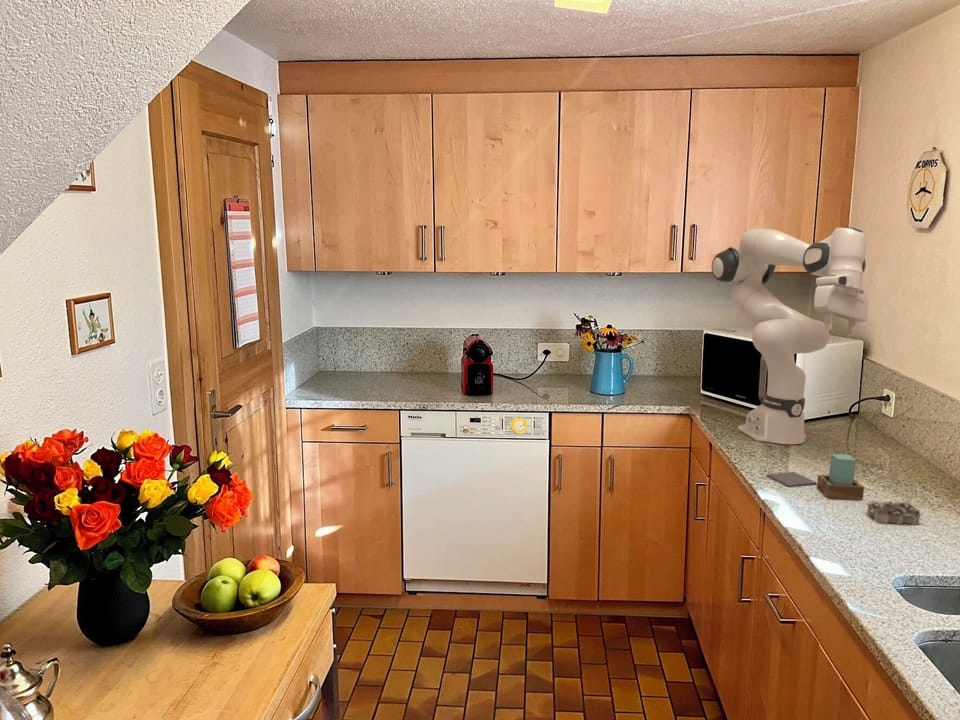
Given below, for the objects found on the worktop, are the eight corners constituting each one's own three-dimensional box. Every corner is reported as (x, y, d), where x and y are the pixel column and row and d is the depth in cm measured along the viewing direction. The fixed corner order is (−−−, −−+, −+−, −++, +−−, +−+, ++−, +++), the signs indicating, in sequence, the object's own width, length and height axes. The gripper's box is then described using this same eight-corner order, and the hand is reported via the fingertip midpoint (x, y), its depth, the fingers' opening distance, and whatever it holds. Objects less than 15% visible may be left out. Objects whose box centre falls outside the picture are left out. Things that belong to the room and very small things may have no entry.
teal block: (827, 490, 200) (831, 453, 198) (844, 491, 200) (848, 454, 198) (833, 496, 196) (837, 459, 194) (851, 497, 195) (855, 459, 194)
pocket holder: (816, 487, 202) (818, 474, 202) (849, 489, 201) (851, 476, 201) (828, 498, 194) (829, 485, 193) (862, 500, 193) (864, 487, 193)
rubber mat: (766, 476, 210) (766, 474, 210) (793, 473, 213) (793, 471, 213) (788, 487, 202) (789, 485, 202) (816, 484, 205) (816, 482, 204)
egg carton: (876, 525, 178) (878, 508, 178) (862, 512, 186) (864, 496, 185) (923, 526, 178) (925, 510, 177) (908, 514, 185) (910, 498, 184)
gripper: (855, 291, 223) (850, 338, 222) (812, 277, 212) (806, 326, 211) (876, 290, 217) (871, 338, 217) (833, 276, 207) (827, 326, 206)
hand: (839, 332), depth 214 cm, fingers open, 8 cm apart
